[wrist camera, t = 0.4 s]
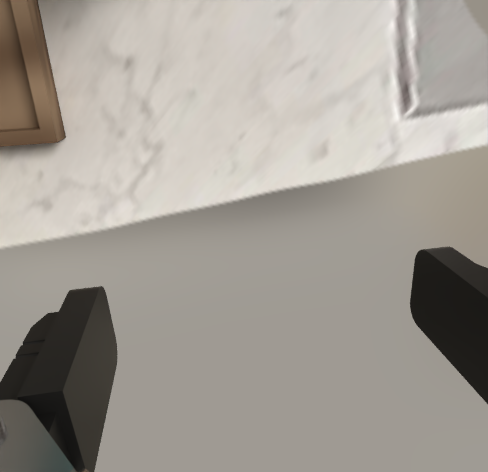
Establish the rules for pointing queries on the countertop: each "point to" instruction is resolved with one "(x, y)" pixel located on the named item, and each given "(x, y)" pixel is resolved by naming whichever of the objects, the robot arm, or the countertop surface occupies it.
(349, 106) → the countertop surface
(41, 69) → the walnut tray
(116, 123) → the countertop surface
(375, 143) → the countertop surface
